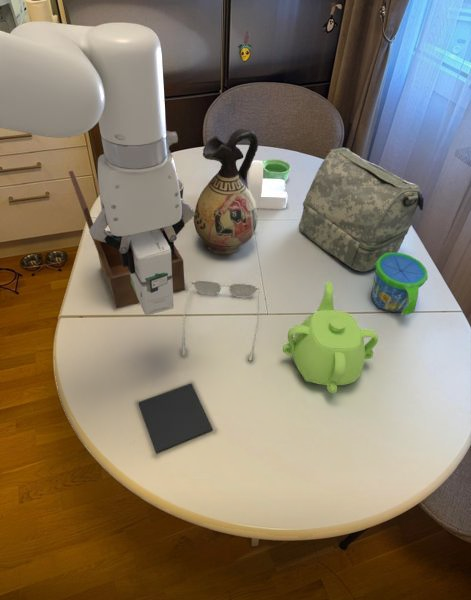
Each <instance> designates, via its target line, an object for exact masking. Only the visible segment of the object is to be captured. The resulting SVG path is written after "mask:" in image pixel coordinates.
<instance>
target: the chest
mask: <svg viewBox="0 0 471 600" xmlns="http://www.w3.org/2000/svg"><path fill="white" fill-rule="evenodd" d="M159 229H160V230H161V231H163V229H162V228H159ZM99 242H100V245H101V248H102V251H103V253H104V256H105V259H106V262H107V265H108V268H109V271H110V274H111V277H108V278H107V275H106V273H105V270H104V267H103V265H102V262H101V260H100V257H99V254H98V253H97V255H98V260H99V265H100V267H101V272H102V274H103V275H102V276H103V277H104V280H105V283H106V286H107V288H108V290H109V293H110V295H111V298H112V301H113V303H114V306H115V309H116V310H118V309H122V308H124V307H129V306H131V305H135V304H140V302H139V300H138V298H137V295H136V293H135V291H134V289H133V286H132V284H131V279H130V272H129V269H128V267H127V266H126V267H123V265H122V262H121V258H120V252H119V250H118V249H116V248H114V247H112V246H110V245H108V244H107V243H105V242H101V241H99ZM174 252H175V254H174V255H172V282H173V294H176V293H178V292H181V291H185V287H186V286H185V268H184V259H183V257H182V255H181V253H180V252H179V250H178V249H177V247H176V245H175V244H174Z"/></svg>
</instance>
